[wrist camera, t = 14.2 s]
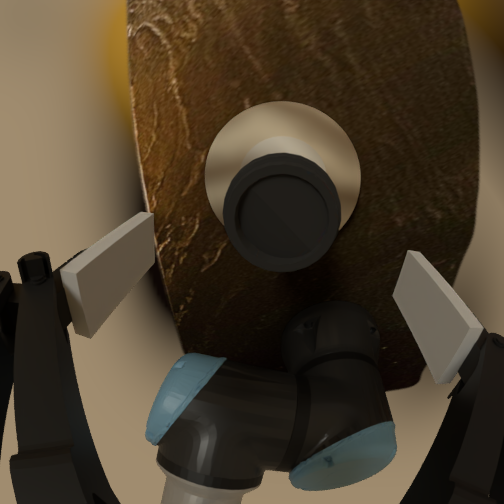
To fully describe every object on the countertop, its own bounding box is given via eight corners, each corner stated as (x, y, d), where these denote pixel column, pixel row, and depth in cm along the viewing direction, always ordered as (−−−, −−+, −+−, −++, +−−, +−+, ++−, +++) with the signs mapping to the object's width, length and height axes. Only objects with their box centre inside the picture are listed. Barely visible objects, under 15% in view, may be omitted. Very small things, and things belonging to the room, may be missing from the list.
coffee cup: (280, 229, 35) (277, 300, 21) (230, 178, 33) (191, 217, 19) (334, 183, 32) (371, 227, 18) (284, 128, 30) (285, 127, 16)
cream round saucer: (341, 257, 37) (343, 263, 35) (203, 237, 38) (200, 242, 36) (368, 117, 29) (372, 117, 28) (215, 96, 30) (211, 94, 29)
